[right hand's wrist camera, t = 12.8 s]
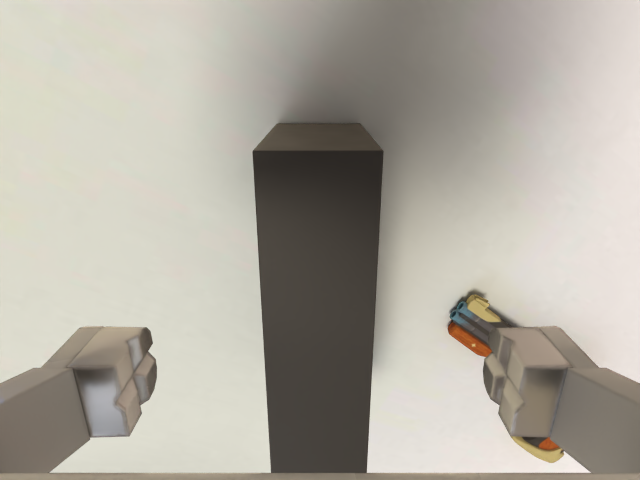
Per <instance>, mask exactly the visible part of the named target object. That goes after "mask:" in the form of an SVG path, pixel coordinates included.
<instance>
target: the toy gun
mask: <svg viewBox="0 0 640 480" xmlns="http://www.w3.org/2000/svg"><path fill="white" fill-rule="evenodd" d="M487 302H488V300H486V299H484V298H482V297H480V296H478V295H476V294H475V295H471V296H470V297H469V298H468V299H467V301H466V303H465V302H464V301H462V302H460V303H459V304H458V306H457V310H453V311H452V313H451V314H450V318H451V319H452V323H451V324H450V325H449V327H448V332H449V334H450V335H451V336H452V337H454V338H455V339H457V340H458V341H459V342H461V343H462V344H463V345H465V346H466V347H467V348H469V349H470V350H472V351H473V352H474V353H476V354H477V355H480V356H484V357H487V356H488V355H489V354H490V353H491V352H492V350H491V349H490V347H489V345H488V344H487V341H488V336H489V333H490V331H491V329H492V328H513V327H512V326H510V325H509V324H507V323H506V322H505V321H503V320H502V319H500V317H499V316H497V315H496V314H495V313H493V312H492V311H491V310H489V309H488V308H487V307H488V306H489V305H490V304H489V303H487ZM511 438H512V439H513V440H514V441H515V442H516V443H517V444H518V445H520V446H521V447H522V448H524V449H525V450H526V451H528V452H529V453H531V454H532V455H534V456H535V457H537V458H539V459H541V460H544V461H547V462H549V463H554V462H556V461H558V460H559V459H560V458H561V457H562V456H563V455H564V453H563V451H564V450H563V449H561V448H560V447H559V446H558V445H556V444H555V443H554V442H553V441H551V440H550V437H516V436H511Z"/></svg>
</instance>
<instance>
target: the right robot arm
mask: <svg viewBox="0 0 640 480" xmlns="http://www.w3.org/2000/svg"><path fill="white" fill-rule="evenodd" d="M152 344H153V342H152V337H151V332H150V330H149V329H148V328H147V327H103V326H91V327H81V328H79V329H78V330H77V331H76V332H75V333H74V334H73V335H72V336H71V337H70V338H69V339H68V340H67V341H66V342H65V343H64V345H63V346H62V347H61V348H60V349H59V350H58V351H57V352H56V353H55V354H54V355H53V356H52V357H51V358H50V359H49V360H48V361H47V362H46V363H45V364H44V365H43V366H42V367H41V368H33V369H30V370H28V371H26V372H24V373H22V374H20V375H18V376H15V377H13V378H11V379H9V380H7V381H5V382H2V383H0V480H640V383H637V382H635V381H633V380H631V379H629V378H627V377H625V376H622V375H620V374H618V373H616V372H614V371H612V370H609V369H607V368H599V367H598V366H597V365H596V364H595V363H594V362H593V361H592V360H591V359H590V358H589V357H588V356H587V355H586V354H585V353H584V352H583V351H582V350H581V349H580V348H579V347H578V345H577V344H576V343H575V342H574V341H573V340H572V339H571V338H570V337H569V336H568V335H567V334H566V333H565V332H564V331H563V330H562V329H561V328H559V327H556V326H546V327H518V328H492V329H491V331H490V333H489V336H488V341H487V344H488V345H489V347H490V349H491V350H492V352H491V353H490V354H489V355H488V356H487V357H486V358H485V359H484V367H483V376H484V384H485V387H486V391H487V393H488V395H489V397H490V399H491V400H493V401H494V402H496V403H497V404H499V405H500V407H499V412H498V414H499V416H500V418H501V420H502V421H503V423H504V425H505V427H506V429H507V431H508V433H509V434H510V436H516V437H550V440H551V441H553V442H554V443H555V444H556V445H558V446H559V447H560V448H561V449H563V450H564V451H565V452H566V453H568V454H569V455H570V456H571V457H572V458H574V459H575V460H576V461H577V462H579V463H580V464H581V465H582V466H584V467H585V468H586V469H587V470H589V471H590V472H591V473H49V472H50V471H51V470H53V469H54V468H55V467H56V466H58V465H59V464H60V463H61V462H63V461H64V460H65V459H66V458H68V457H69V456H70V455H71V454H73V453H74V452H75V451H76V450H78V449H79V448H80V447H81V446H83V445H84V444H85V443H86V442H88V441H89V440H90V437H123V436H130V434H131V433H132V431H133V429H134V427H135V425H136V423H137V421H138V420H139V418H140V416H141V414H142V412H141V407H140V405H141V404H143V403H144V402H146V401H147V400H149V399H150V397H151V395H152V393H153V391H154V387H155V383H156V379H157V366H156V359H155V358H154V357H153V356H152V355H151V354H150V353H149V352H148V350H149V349H150V347H151V345H152Z"/></svg>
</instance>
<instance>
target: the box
mask: <svg viewBox="0 0 640 480" xmlns="http://www.w3.org/2000/svg"><path fill="white" fill-rule="evenodd" d="M253 166H254V184H255V201H256V218H257V235H258V253H259V270H260V287H261V305H262V322H263V339H264V357H265V374H266V391H267V409H268V426H269V443H270V460H271V473H367V455H368V436H369V417H370V398H371V379H372V360H373V340H374V321H375V302H376V283H377V264H378V245H379V226H380V206H381V187H382V168H383V150H382V149H381V148H380V146H379V145H378V144H377V143H376V142H375V141H374V139H373V138H372V137H371V136H370V135H369V133H368V132H367V131H366V130H365V129H364V128H363V126H362V125H361V124H360V123H343V124H276V125H275V126H274V128H273V129H272V130H271V131H270V132H269V133H268V134H267V135H266V137H265V138H264V139H263V140H262V141H261V142H260V143H259V145H258V146H257V147H256V148H255V149H254V150H253Z"/></svg>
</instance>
